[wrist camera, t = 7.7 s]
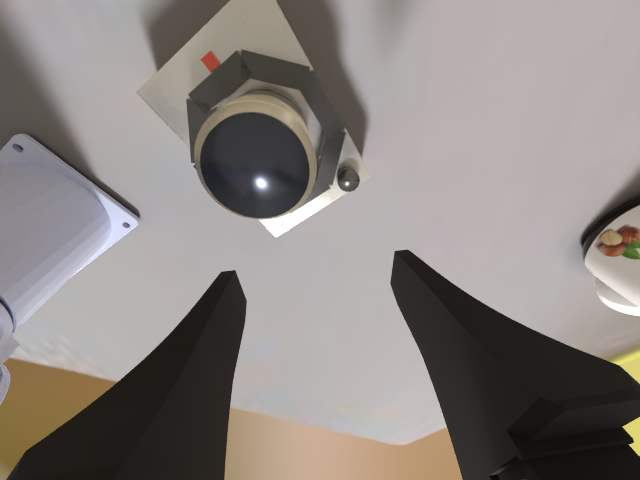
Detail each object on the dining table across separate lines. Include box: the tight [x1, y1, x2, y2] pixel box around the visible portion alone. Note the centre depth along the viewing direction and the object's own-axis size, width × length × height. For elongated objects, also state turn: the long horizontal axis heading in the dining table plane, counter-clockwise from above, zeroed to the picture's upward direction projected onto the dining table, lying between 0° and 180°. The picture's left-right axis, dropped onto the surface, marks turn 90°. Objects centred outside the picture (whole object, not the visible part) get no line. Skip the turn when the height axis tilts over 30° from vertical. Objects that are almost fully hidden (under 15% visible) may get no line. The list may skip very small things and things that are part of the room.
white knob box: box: [136, 0, 372, 237], centre depth 15 cm, size 8×11×4 cm
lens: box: [194, 87, 317, 220], centre depth 11 cm, size 4×4×6 cm
